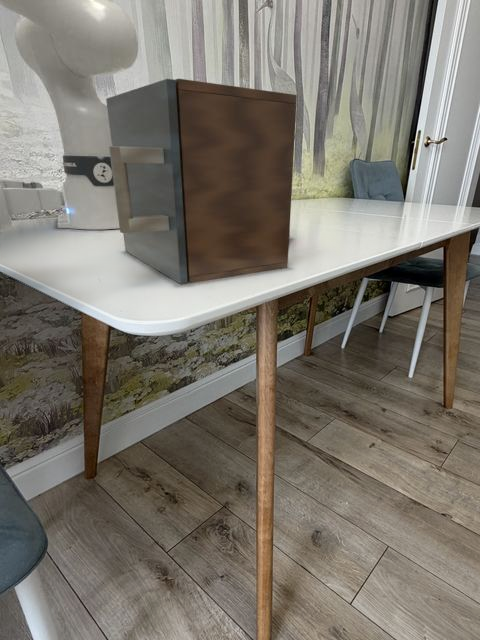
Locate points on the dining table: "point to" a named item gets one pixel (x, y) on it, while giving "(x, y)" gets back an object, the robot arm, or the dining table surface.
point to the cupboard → (235, 178)
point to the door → (149, 176)
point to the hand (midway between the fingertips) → (50, 194)
